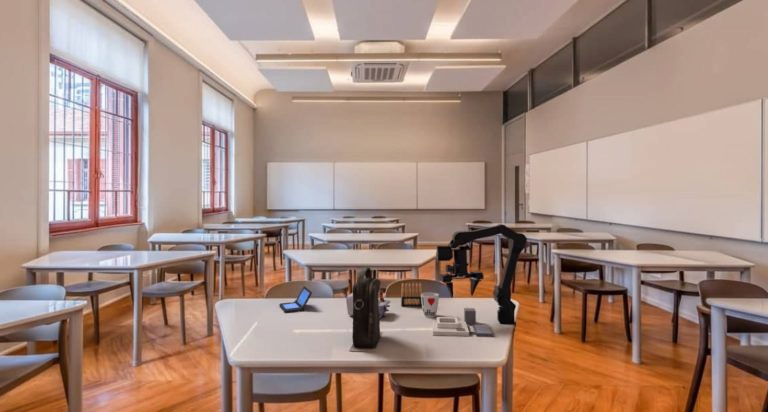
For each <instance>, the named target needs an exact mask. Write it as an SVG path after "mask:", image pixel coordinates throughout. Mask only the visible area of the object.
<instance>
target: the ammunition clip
mask: <svg viewBox="0 0 768 412" xmlns="http://www.w3.org/2000/svg"><path fill="white" fill-rule="evenodd" d="M404 284H405V285H404ZM422 286H423V285H422V282H419V284H418V282H415V283H414V282H412V285H411V282H409V283H408V282H406V283H404V282H402V283H401V291H400V292H401V299H400V300H401V301H400V307H402V308H404V307H405V308H407V307H411V308H413V307H414V308H415V307H416V308H422V301H421V294H422V293H423V287H422Z"/></svg>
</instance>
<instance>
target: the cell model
mask: <svg viewBox="0 0 768 412" xmlns="http://www.w3.org/2000/svg"><path fill="white" fill-rule="evenodd" d="M345 300H346V310H347V315H348V316H351V317H353V292H352V293H350V294H348V295H347V296H346V299H345ZM390 303H391V300H387V299H385V298H384V297H383V296H379V315H380V319H381V318H382V317H385V316H387V315H388V314H387V313H386V312H389V311H390V310H389V309H388V308H390V307H391V305H390Z"/></svg>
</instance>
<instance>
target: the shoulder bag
mask: <svg viewBox="0 0 768 412" xmlns="http://www.w3.org/2000/svg"><path fill="white" fill-rule="evenodd" d="M381 284H382V283H381V280H380V279H378V278H374V277H372V270H371V268H370V267H367V266H365V267H360V268H359V269H358V271H357V274H356V282H355V283H354V284H353V285H352V293H353V316H352V345H351V346H350V348H349V350H348V351H350V352H351V351H352V352H367V353H368V352H370V353H373V352H375V351H376V350H377V347H378V344H379V343H380V339H381V337H382V335H383V331H381V326H380V325H381V322H380V321H381V318H380V315H379V300H380V296H379V293H380V287H381Z"/></svg>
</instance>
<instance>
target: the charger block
mask: <svg viewBox="0 0 768 412" xmlns="http://www.w3.org/2000/svg"><path fill="white" fill-rule="evenodd" d="M470 307H471V308H470ZM470 307H469V306H467V307H464V308H463V322H466V324H467V326H473V325H477V322H476V321H477V320H476V318H477V311H476V309H475V308H473V307H472V306H470Z"/></svg>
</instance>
